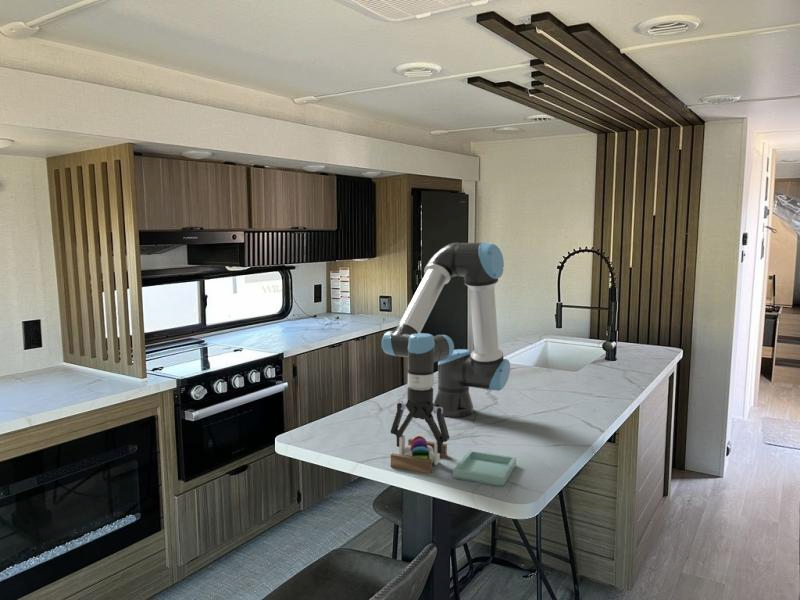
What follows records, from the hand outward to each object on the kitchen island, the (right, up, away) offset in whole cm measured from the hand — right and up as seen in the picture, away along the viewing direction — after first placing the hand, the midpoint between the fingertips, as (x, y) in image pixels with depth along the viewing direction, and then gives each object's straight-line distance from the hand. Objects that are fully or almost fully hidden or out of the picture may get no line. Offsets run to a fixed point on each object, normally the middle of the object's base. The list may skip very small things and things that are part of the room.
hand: (419, 460), depth 179 cm
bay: (0, 0, 0) cm, 0 cm away
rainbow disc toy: (0, -1, 0) cm, 1 cm away
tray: (+19, -1, -7) cm, 20 cm away
